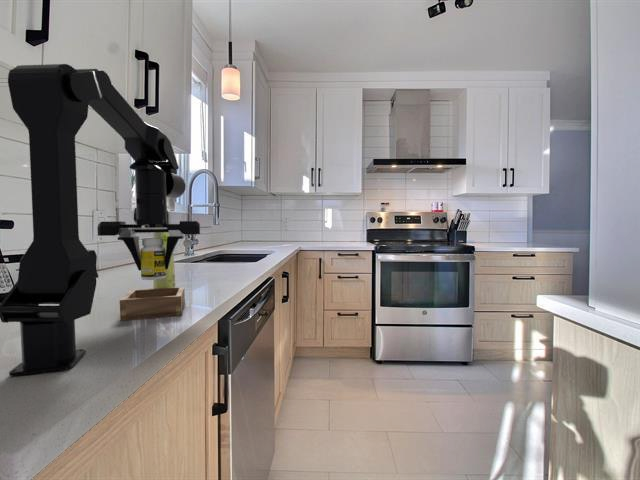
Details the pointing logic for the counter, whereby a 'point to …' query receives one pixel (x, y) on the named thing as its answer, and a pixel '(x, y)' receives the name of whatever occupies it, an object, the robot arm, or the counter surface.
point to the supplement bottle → (153, 259)
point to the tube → (170, 272)
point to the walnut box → (152, 303)
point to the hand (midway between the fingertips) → (153, 269)
